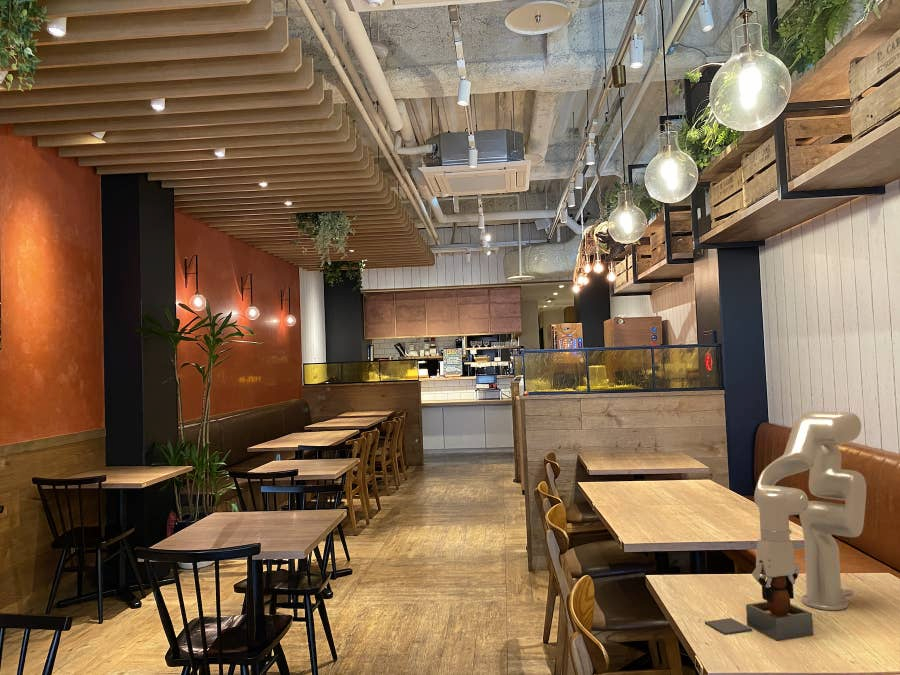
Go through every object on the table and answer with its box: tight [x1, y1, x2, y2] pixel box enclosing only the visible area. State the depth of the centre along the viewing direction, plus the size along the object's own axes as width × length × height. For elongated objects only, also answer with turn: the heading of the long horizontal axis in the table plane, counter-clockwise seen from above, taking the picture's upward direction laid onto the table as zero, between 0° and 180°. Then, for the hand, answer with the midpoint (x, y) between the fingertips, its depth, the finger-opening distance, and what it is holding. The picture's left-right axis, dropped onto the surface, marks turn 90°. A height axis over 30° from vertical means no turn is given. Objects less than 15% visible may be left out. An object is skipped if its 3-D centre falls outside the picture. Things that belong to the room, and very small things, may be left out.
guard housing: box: [745, 601, 814, 642], centre depth 195 cm, size 12×12×6 cm
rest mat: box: [704, 617, 753, 636], centre depth 198 cm, size 9×9×1 cm
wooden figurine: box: [766, 576, 791, 616], centre depth 195 cm, size 7×6×15 cm
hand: (778, 598), depth 195 cm, fingers closed on wooden figurine, 6 cm apart
